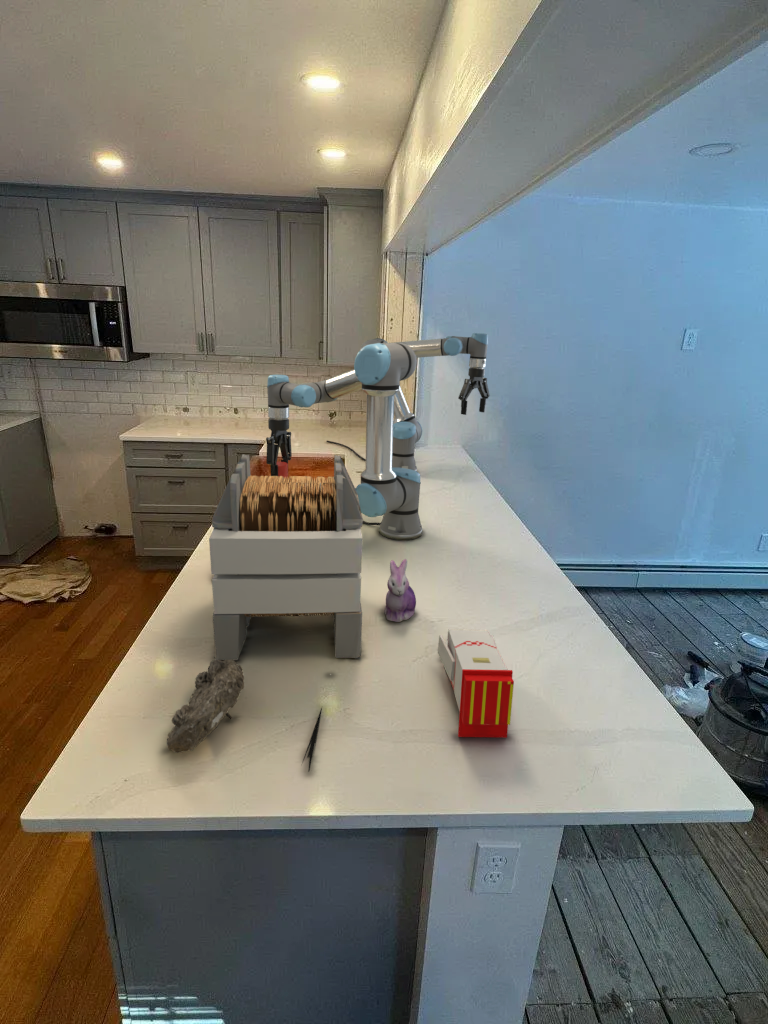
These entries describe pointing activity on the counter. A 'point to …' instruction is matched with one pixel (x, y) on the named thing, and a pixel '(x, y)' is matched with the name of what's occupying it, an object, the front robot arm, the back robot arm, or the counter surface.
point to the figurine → (399, 594)
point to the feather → (313, 740)
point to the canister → (282, 469)
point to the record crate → (286, 555)
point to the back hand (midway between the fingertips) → (472, 413)
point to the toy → (478, 682)
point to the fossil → (206, 705)
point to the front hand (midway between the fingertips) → (279, 478)
